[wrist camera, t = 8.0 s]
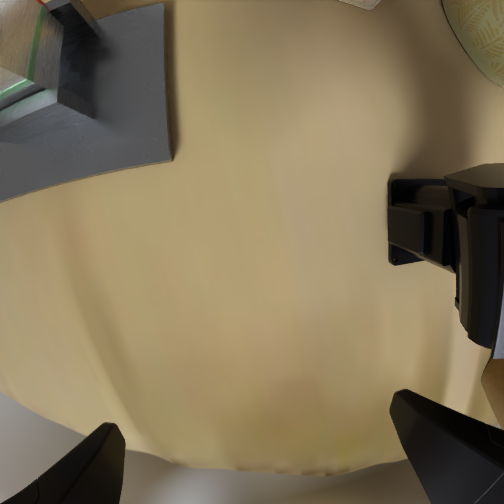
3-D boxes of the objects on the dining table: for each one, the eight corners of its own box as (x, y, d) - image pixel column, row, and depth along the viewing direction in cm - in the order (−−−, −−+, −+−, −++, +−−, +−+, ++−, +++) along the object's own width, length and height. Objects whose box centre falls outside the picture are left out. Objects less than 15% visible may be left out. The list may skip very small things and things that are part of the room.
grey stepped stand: (166, 10, 14) (150, -47, 8) (172, 161, 17) (146, 149, 11) (-3, 73, 13) (-51, 55, 6) (-6, 204, 16) (-63, 217, 9)
